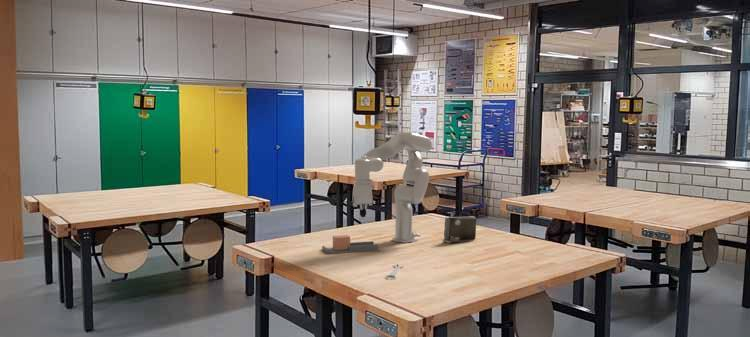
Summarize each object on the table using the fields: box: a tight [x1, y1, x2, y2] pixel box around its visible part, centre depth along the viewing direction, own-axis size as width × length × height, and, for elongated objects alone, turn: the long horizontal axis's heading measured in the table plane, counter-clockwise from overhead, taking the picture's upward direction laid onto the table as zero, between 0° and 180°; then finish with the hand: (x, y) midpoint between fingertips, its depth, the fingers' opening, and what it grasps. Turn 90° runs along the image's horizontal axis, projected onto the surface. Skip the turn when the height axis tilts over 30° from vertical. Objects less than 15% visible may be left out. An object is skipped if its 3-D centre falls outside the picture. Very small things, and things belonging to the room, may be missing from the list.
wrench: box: [384, 264, 405, 281], centre depth 266 cm, size 25×2×5 cm
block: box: [332, 234, 351, 250], centre depth 305 cm, size 8×5×6 cm, turn 110°
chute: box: [321, 240, 380, 255], centre depth 307 cm, size 28×10×3 cm, turn 110°
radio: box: [442, 215, 477, 244], centre depth 334 cm, size 23×9×15 cm, turn 119°
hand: (363, 216), depth 308 cm, fingers closed
